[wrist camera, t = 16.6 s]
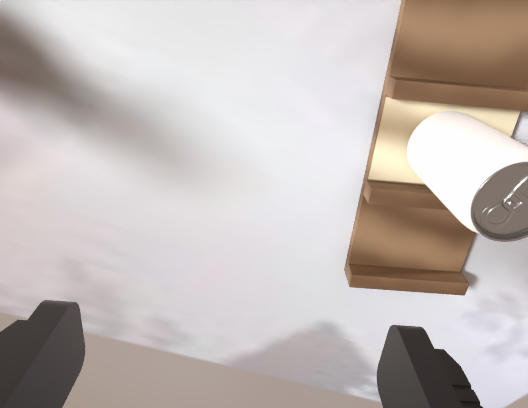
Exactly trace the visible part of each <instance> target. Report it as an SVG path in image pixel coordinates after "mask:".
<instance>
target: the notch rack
mask: <svg viewBox="0 0 528 408" xmlns="http://www.w3.org/2000/svg"><path fill="white" fill-rule="evenodd" d="M443 111H458V112H462V113H464V114H467V115H469V116H471V117H473V118H475V119H477V120H478V121H480V122H482V123H484V124H486V125H488V126H490V127H492V128H494V129H495V130H497V131H499V132H501V133H503V134H505V135H507V136H509V137H510V138H511V135H512V133H513V130H514V127H515V125H516V122H517V119H518V116H519V114H520V111H528V0H402V2H401V7H400V12H399V16H398V21H397V26H396V30H395V35H394V40H393V44H392V49H391V54H390V58H389V63H388V68H387V72H386V77H385V82H384V86H383V91H382V96H381V100H380V105H379V110H378V115H377V119H376V124H375V129H374V133H373V138H372V143H371V147H370V152H369V157H368V161H367V166H366V171H365V175H364V180H363V185H362V189H361V194H360V199H359V203H358V208H357V213H356V217H355V222H354V227H353V232H352V236H351V241H350V246H349V250H348V255H347V260H346V264H345V269H344V270H345V274H346V277H347V280H348V284H349V287H355V288H369V289H383V290H396V291H410V292H424V293H438V294H452V295H465V293H466V291H467V288H468V286H469V283H468V281H467V280H466V279H465V277H464V276H463V275H462V273H461V270H462V267H463V264H464V261H465V259H466V256H467V253H468V251H469V248H470V245H471V243H472V240H473V237H474V234H475V232H474V231H472V230H470V229H468V228H467V227H466V226H464V225H463V224H462V223H461V222H460V221H459V220H458V219H457V218H456V217H455V216H454V215H453V214H452V213H451V211H450V210H449V209H448V208H447V207H446V206H445V205H444V204H443V203H442V202H441V201H440V200H439V198H438V197H437V196H436V195H435V194H434V193H433V192H432V191H431V190H430V189H429V187H428V186H427V185H426V184H425V183H424V182H423V181H422V180H421V179H420V177H419V176H418V175H417V174H416V173H415V172H414V171H413V169H412V168H411V166H410V164H409V161H408V158H407V146H408V142H409V139H410V137H411V135H412V133H413V131H414V130H415V129H416V127H417V126H418V125H419V124H420V123H421V122H422V121H424V120H425V119H426V118H428V117H430V116H432V115H434V114H436V113H439V112H443Z"/></svg>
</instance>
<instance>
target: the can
mask: <svg viewBox="0 0 528 408" xmlns="http://www.w3.org/2000/svg"><path fill="white" fill-rule="evenodd" d="M407 158H408V161H409V164H410V166H411V168H412V169H413V171H414V172H415V173H416V174H417V175H418V176H419V177H420V179H421V180H422V181H423V182H424V183H425V184H426V185H427V186H428V187H429V189H430V190H431V191H432V192H433V193H434V194H435V195H436V196H437V197H438V198H439V200H440V201H441V202H442V203H443V204H444V205H445V206H446V207H447V208H448V209H449V210H450V211H451V213H452V214H453V215H454V216H455V217H456V218H457V219H458V220H459V221H460V222H461V223H462V224H463V225H464V226H466V227H467V228H468V229H470V230H472V231H474V232H476V233H479V234H481V235H483V236H484V237H486V238H488V239H491V240H494V241H501V242H509V241H516V240H520V239H523V238H526V237H528V147H527V146H525V145H523V144H522V143H520V142H518V141H516V140H514V139H512V138H510V137H509V136H507V135H505V134H503V133H501V132H499V131H497V130H495V129H494V128H492V127H490V126H488V125H486V124H484V123H482V122H480V121H478V120H477V119H475V118H473V117H471V116H469V115H467V114H464V113H462V112H458V111H443V112H439V113H436V114H434V115H432V116H430V117H428V118H426V119H425V120H424V121H422V122H421V123H420V124H419V125H418V126H417V127H416V129H415V130H414V131H413V133H412V135H411V137H410V139H409V142H408V146H407Z"/></svg>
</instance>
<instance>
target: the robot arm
mask: <svg viewBox="0 0 528 408" xmlns="http://www.w3.org/2000/svg"><path fill="white" fill-rule="evenodd" d="M84 356H85V342H84V335H83V328H82V322H81V315H80V309H79V305H78V304H77V303H76V302H66V301H52V300H44V301H43V302H41V303H40V304H39V306H38V307H37V308H36V310H35V311H34V312H33V314H32V315H31V316H30V318H29V319H28V320H17V321H15V322H14V323H13V324H11V325H10V326H8V327H7V328H6V329H4V330H3V331H1V332H0V408H62V407H63V405H64V403H65V401H66V399H67V397H68V395H69V393H70V391H71V389H72V387H73V385H74V383H75V381H76V379H77V377H78V375H79V373H80V371H81V368H82V365H83V362H84ZM377 385H378V391H379V395H380V398H381V402H382V405H383V408H483V407H482V406H480V401H479V399H478V397H477V396H476V394H475V392H474V390H472V389H471V385H470V383H469V381H468V379H467V377H466V375H465V374H464V372H463V370H462V368H461V366H460V365H459V364H458V363H457V362H456V361H455V360H454V359H453V358H452V357H451V356H450V355H449V354H448V353H447V352H446V351H445V350H444V349H434V347H433V345H432V343H431V341H430V339H429V337H428V335H427V333H426V331H425V330H424V329H423V328H422V327H415V326H400V325H392V326H391V327H390V328H389V331H388V334H387V337H386V341H385V344H384V348H383V351H382V354H381V358H380V361H379V364H378V369H377Z"/></svg>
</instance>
